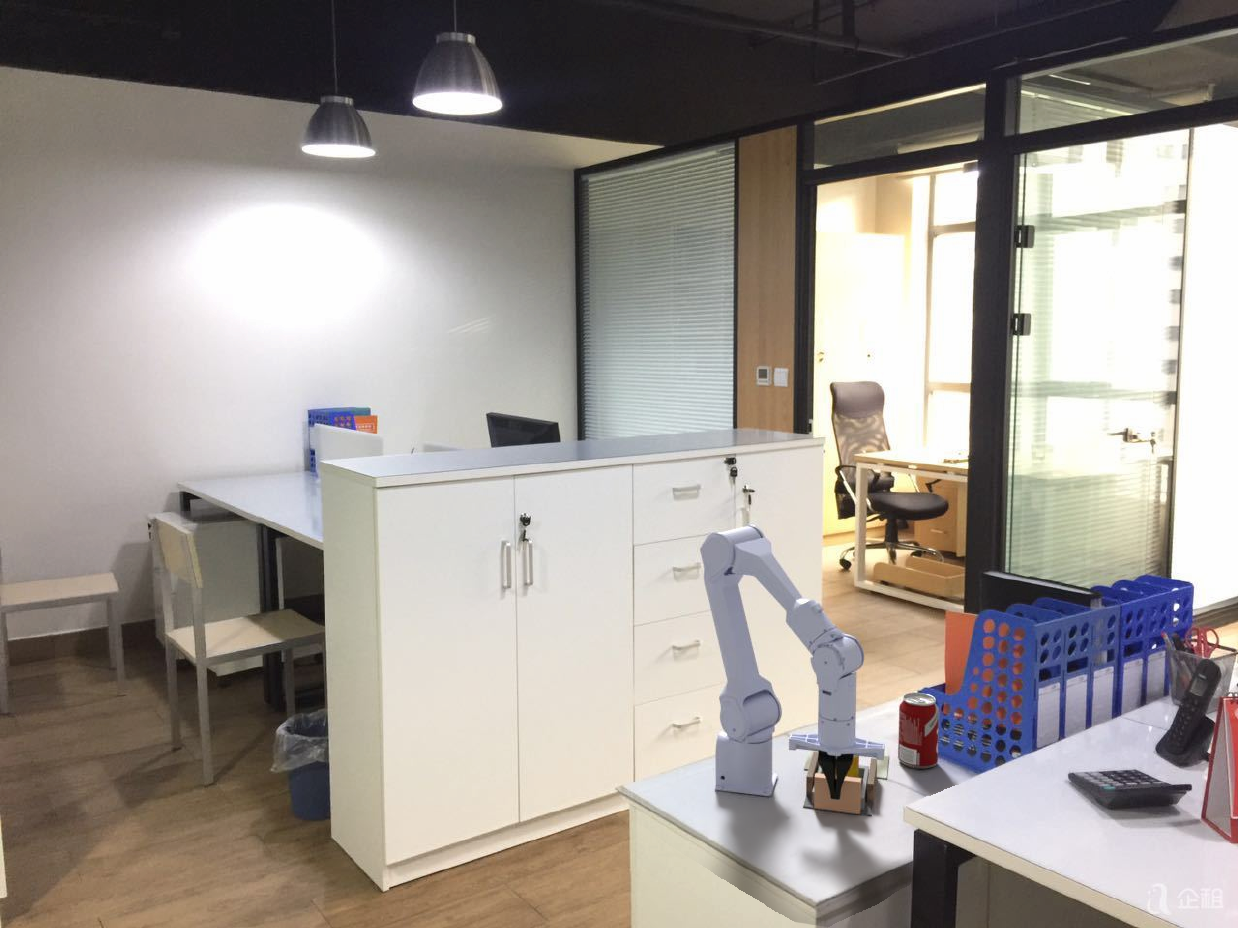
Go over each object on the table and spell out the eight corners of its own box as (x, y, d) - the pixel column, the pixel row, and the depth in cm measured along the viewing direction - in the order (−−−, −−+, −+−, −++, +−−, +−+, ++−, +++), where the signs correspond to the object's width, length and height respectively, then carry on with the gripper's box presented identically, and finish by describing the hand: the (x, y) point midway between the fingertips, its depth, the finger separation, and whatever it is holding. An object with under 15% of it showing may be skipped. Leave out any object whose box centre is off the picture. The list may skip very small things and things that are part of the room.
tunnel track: (793, 805, 166) (793, 785, 165) (810, 748, 187) (810, 730, 187) (882, 817, 161) (882, 796, 161) (888, 757, 183) (889, 738, 182)
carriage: (811, 807, 164) (811, 776, 164) (820, 771, 177) (820, 742, 176) (863, 814, 162) (863, 782, 161) (868, 777, 175) (869, 747, 174)
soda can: (915, 774, 176) (916, 708, 174) (890, 759, 182) (891, 695, 181) (945, 766, 179) (947, 701, 177) (920, 752, 185) (921, 688, 183)
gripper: (786, 719, 157) (785, 802, 159) (883, 728, 152) (881, 814, 154) (792, 702, 163) (792, 782, 165) (886, 711, 159) (884, 793, 161)
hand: (835, 796), depth 160 cm, fingers closed
